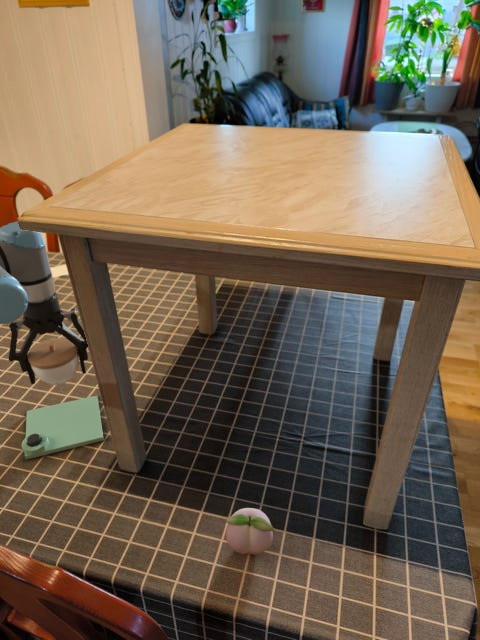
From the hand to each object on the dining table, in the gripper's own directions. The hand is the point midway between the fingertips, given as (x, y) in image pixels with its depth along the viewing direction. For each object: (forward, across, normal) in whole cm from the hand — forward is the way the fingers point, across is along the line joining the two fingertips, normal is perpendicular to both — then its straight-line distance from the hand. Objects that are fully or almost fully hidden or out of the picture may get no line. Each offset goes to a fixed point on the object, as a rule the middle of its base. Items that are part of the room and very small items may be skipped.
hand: (59, 375), depth 106 cm
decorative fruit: (+17, -32, +45) cm, 58 cm away
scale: (+17, +2, 0) cm, 17 cm away
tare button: (+14, +8, +6) cm, 17 cm away
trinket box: (+1, 0, 0) cm, 1 cm away
